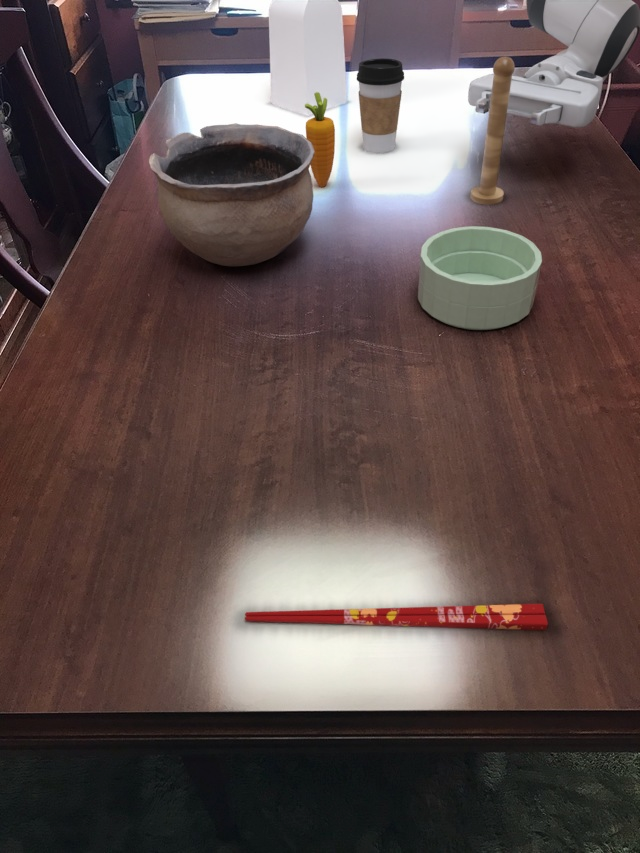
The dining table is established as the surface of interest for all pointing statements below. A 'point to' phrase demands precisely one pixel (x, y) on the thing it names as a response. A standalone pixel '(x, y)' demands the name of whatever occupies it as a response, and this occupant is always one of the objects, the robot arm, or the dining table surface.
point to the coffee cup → (379, 102)
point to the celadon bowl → (478, 277)
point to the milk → (306, 54)
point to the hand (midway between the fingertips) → (506, 113)
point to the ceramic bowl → (235, 191)
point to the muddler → (495, 134)
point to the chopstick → (421, 616)
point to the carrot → (321, 141)
